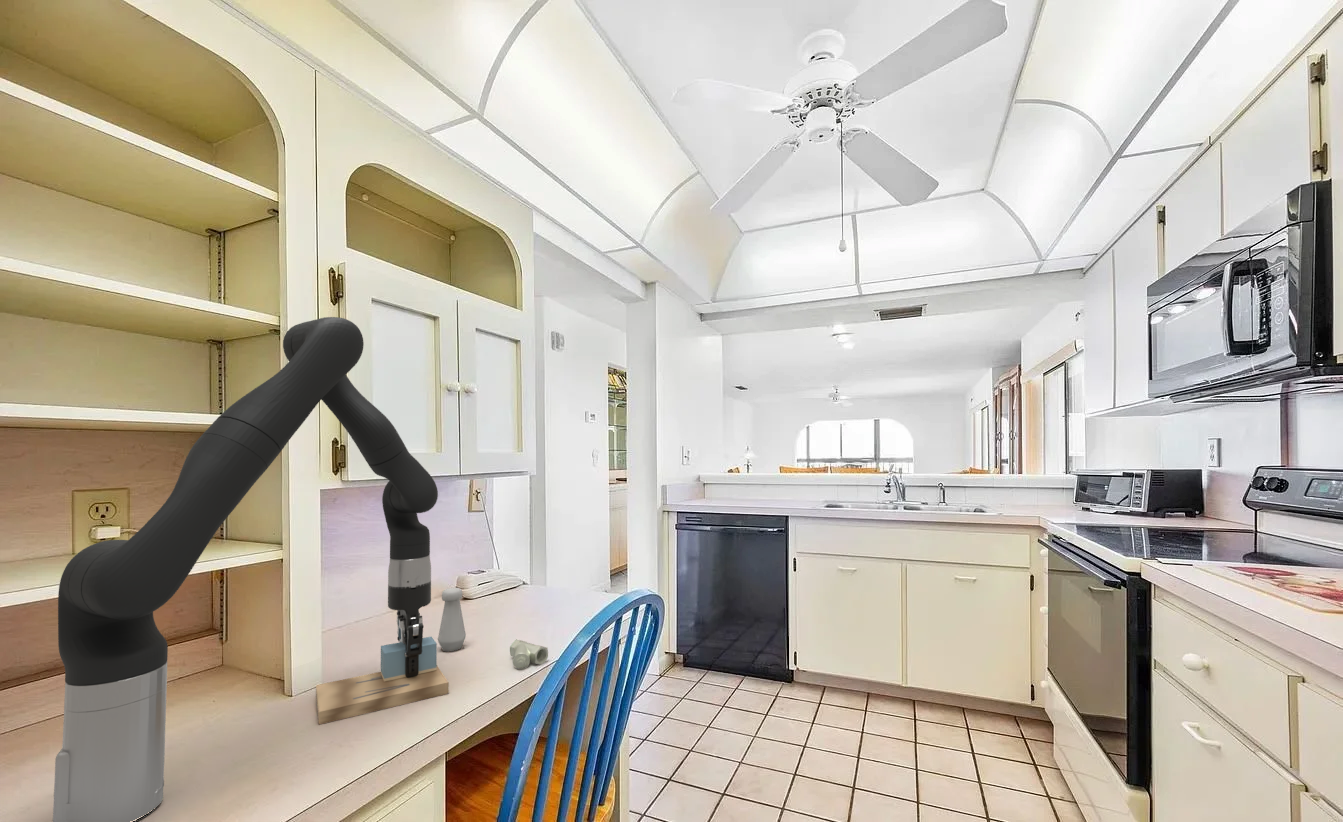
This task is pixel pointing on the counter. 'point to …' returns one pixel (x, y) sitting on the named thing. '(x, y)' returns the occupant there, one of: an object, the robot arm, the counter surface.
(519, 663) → the pipe fitting
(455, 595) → the salt shaker
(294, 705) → the counter surface
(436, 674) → the oak board
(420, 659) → the block
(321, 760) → the counter surface
